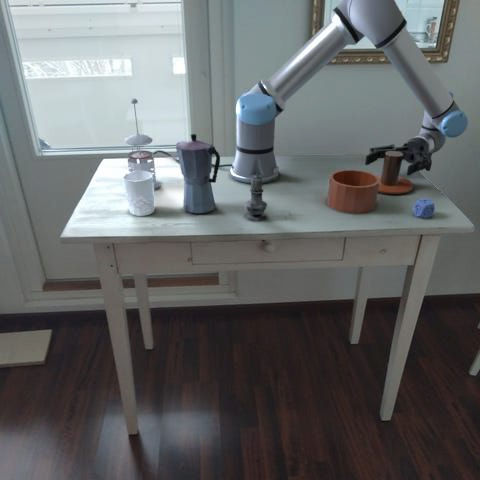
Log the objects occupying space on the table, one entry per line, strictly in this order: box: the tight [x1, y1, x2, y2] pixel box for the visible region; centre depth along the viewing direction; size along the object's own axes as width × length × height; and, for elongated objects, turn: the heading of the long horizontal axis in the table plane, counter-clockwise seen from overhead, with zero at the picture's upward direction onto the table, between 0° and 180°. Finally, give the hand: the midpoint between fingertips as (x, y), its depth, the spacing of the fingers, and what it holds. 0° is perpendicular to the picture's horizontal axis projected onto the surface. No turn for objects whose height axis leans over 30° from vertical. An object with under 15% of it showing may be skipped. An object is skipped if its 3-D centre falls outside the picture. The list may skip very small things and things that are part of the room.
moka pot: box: [175, 133, 221, 214], centre depth 129 cm, size 10×15×20 cm, turn 54°
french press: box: [124, 98, 161, 191], centre depth 142 cm, size 10×12×25 cm
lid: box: [375, 151, 414, 195], centre depth 146 cm, size 15×15×10 cm
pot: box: [326, 169, 380, 214], centre depth 136 cm, size 14×14×8 cm
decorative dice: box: [412, 198, 436, 219], centre depth 131 cm, size 4×4×4 cm
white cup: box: [122, 171, 156, 217], centre depth 131 cm, size 8×8×10 cm
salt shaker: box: [245, 174, 268, 222], centre depth 128 cm, size 6×6×12 cm
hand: (387, 165), depth 143 cm, fingers open, 13 cm apart
